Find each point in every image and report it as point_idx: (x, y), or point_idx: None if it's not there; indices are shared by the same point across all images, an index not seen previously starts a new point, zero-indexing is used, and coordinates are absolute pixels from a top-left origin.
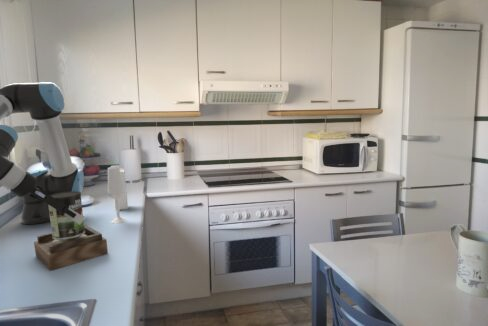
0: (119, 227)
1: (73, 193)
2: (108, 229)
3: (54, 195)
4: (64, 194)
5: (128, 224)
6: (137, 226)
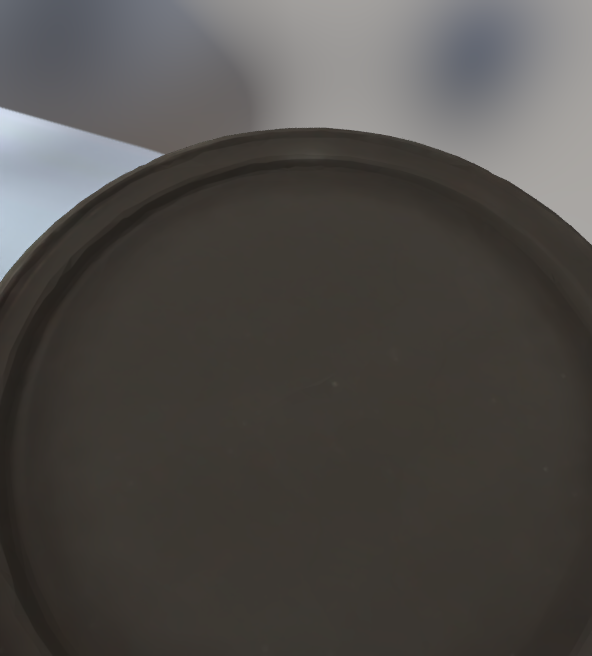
0: (34, 200)
1: (306, 221)
2: (9, 248)
3: (154, 600)
4: (255, 367)
5: (29, 157)
6: (108, 140)
